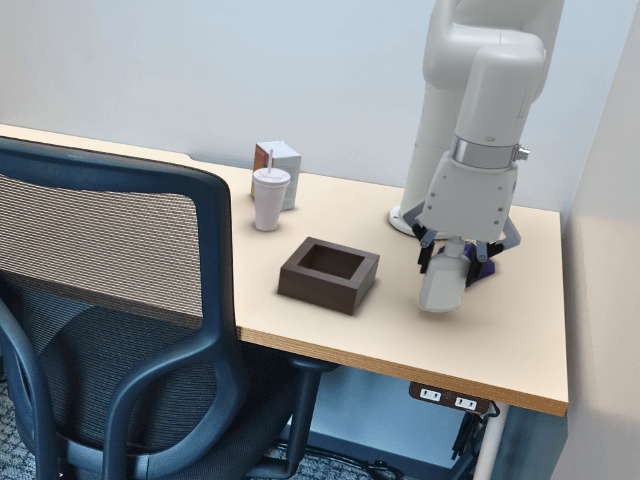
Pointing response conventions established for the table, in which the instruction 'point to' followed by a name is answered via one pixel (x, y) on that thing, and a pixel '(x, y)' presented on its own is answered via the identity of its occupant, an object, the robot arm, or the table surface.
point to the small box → (279, 166)
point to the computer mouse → (469, 253)
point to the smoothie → (269, 195)
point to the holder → (324, 287)
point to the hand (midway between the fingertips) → (446, 274)
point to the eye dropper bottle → (445, 278)
